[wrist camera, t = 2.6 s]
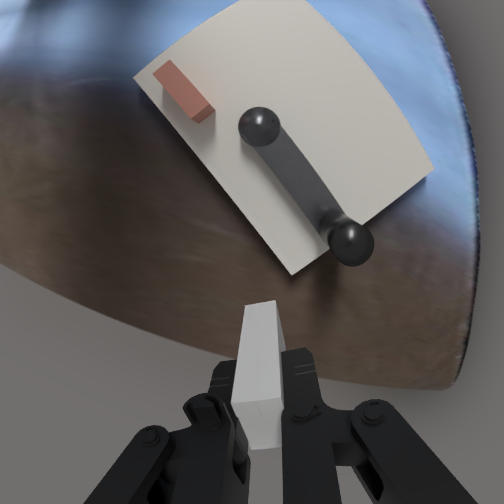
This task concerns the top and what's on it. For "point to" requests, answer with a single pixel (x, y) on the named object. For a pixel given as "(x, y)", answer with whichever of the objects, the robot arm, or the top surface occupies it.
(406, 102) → the top surface
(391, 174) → the board
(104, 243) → the top surface
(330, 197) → the swing bar
